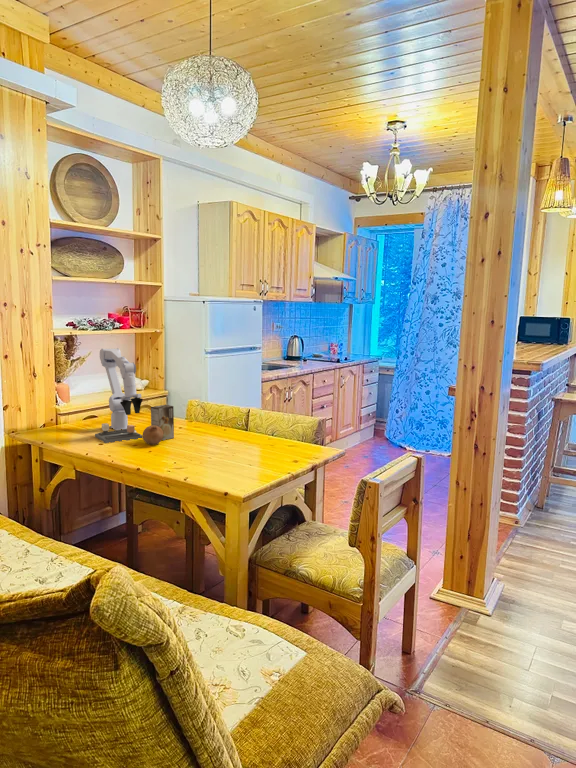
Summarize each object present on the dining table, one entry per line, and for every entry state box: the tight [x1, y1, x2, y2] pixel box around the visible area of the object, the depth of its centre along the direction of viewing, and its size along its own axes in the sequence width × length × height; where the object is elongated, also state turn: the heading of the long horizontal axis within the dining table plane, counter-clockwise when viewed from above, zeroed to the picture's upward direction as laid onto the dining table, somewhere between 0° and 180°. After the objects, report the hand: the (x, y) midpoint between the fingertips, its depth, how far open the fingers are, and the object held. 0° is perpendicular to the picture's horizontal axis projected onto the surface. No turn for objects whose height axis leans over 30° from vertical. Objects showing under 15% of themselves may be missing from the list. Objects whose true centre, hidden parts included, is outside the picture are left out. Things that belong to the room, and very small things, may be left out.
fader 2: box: [127, 424, 135, 435], centre depth 258 cm, size 3×2×5 cm
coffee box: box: [150, 404, 175, 441], centre depth 260 cm, size 9×6×16 cm
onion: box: [142, 425, 163, 446], centre depth 250 cm, size 10×9×10 cm
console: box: [94, 429, 143, 444], centre depth 260 cm, size 15×18×3 cm
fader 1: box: [101, 422, 110, 434], centre depth 260 cm, size 3×2×5 cm
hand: (132, 414), depth 265 cm, fingers open, 7 cm apart
